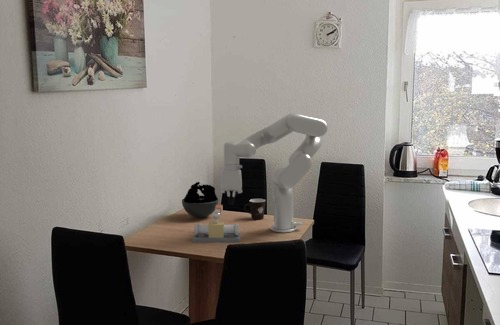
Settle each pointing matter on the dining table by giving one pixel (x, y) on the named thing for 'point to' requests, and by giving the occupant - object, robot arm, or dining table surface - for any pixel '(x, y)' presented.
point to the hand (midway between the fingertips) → (231, 204)
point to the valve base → (226, 239)
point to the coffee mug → (256, 208)
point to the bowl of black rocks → (200, 201)
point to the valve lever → (217, 211)
